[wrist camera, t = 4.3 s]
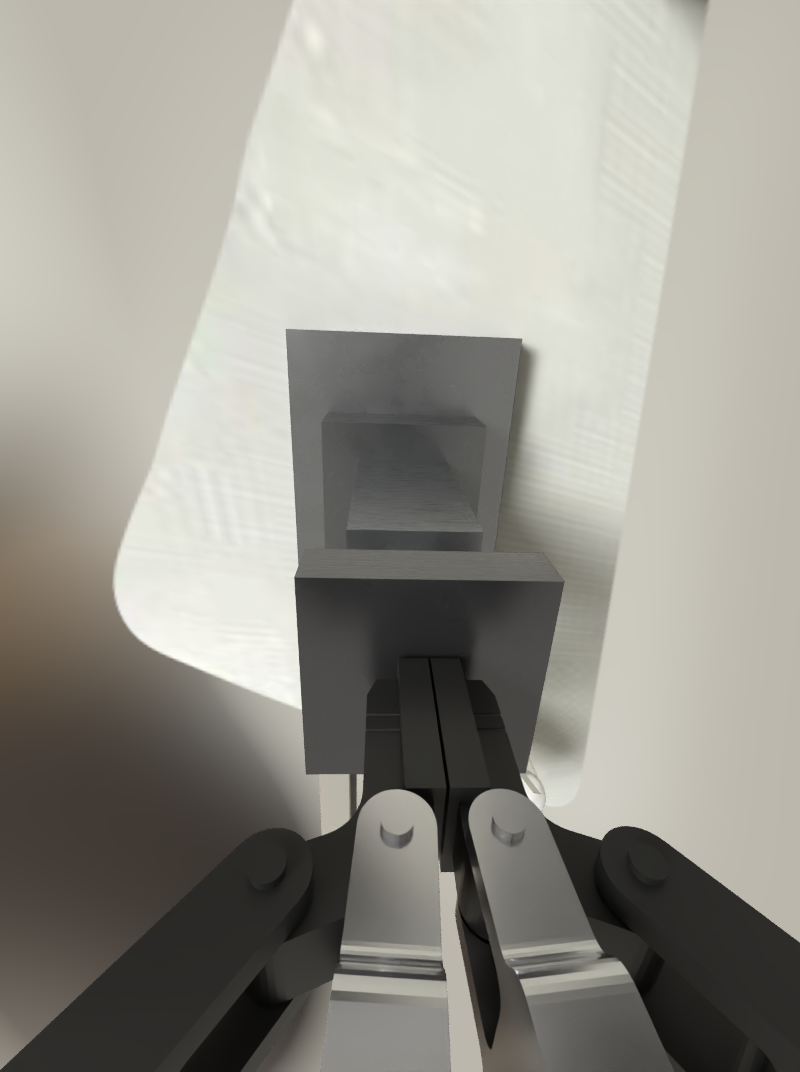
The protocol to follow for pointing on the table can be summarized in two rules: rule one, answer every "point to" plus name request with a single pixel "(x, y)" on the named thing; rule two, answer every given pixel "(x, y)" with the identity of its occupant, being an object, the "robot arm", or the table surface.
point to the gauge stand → (397, 453)
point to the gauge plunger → (418, 636)
